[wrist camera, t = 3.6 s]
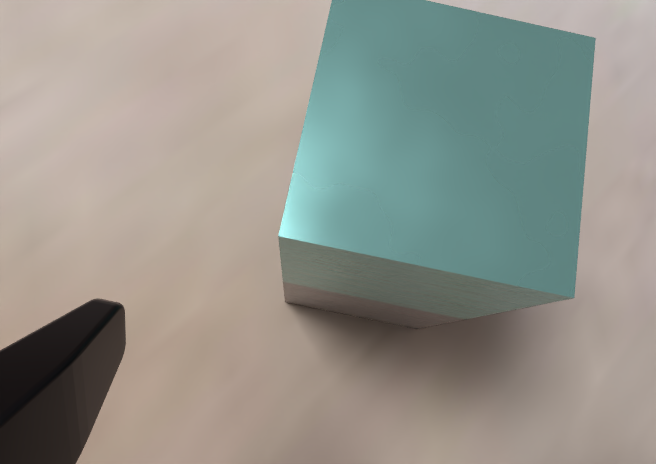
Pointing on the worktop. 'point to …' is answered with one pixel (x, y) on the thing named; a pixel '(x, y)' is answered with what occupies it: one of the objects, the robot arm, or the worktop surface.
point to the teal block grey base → (438, 165)
